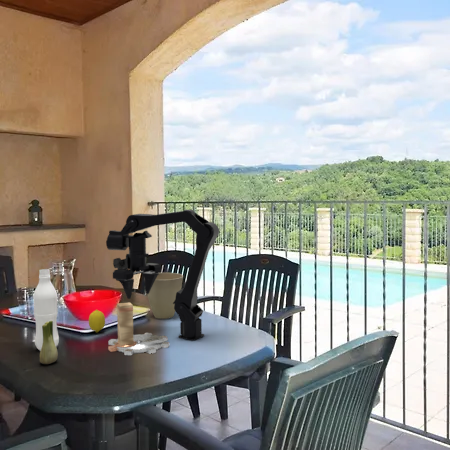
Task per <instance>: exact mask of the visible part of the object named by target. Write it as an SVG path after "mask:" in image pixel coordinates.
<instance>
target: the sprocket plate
mask: <svg viewBox="0 0 450 450" xmlns="http://www.w3.org/2000/svg"><path fill="white" fill-rule="evenodd" d="M133 343H134V344H133V345H125V346H120V344H119V343H118V338H110V339H109V340H108V346H107V347H108V348H107V349H108V351H109V352H111V353H113V352H120V353H124V356H132V355H134V354H145V353H144V352H146V353H147V354H149V355H152V354H156V353H157V350H160V349H163V348H165V349H167V348H169V347H170V341H168V336H166V335H160V336H159V335H155V334H153V333H152V332H145V333H144V334H133ZM151 353H152V354H151Z"/></svg>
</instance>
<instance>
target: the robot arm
mask: <svg viewBox="0 0 450 450" xmlns="http://www.w3.org/2000/svg"><path fill="white" fill-rule="evenodd" d="M179 223H185V224H186V225H187V226H188V227H189V228H190V229H191V230H192V231H193V232H194V233H196V235H195V246H196V247H195V250H194V254H193V258H192V261H191V264H190V267H189V270H188V273H187V277H186V282H185V284H184V288H181V290H180V291H178V292H177V293H176V298H175V301H174V302H173V304H175V305H174V310H175V313H176V314H177V315H178V317H179V321H180V323H179V325H180V326H179V327H180V334H179V335H178V338H179V339H185V340H189V341H196V340H198V339H200V338H203V337H205V334H204V333H203V332H202V326H203V325H202V318H200V317H202V315H203V312H204V310H203V309H202V307H200V305H199V304H197V303H198V287H199V284H200V282H201V278H202V274H203V271H204V269H205V264H206V262H207V259H208V256H209V253H210V250H211V248H212V246H213V245H214V243H216V240H217V238H218V236H219V233H220V229H219V226H218V225H217V224H216V223H214V222H211V221H209V220H207V219H206V218H205V217H203V216H201V215H199V214H198V213H197V212H195V211H194V209H184V210H181V211H174V212H166V213H158V214H151V213H135V214H134V213H133V214H130V215H129V216H127V218H126V220H125V224H124V226H123V227H122V229H121V230H116V229H115V230H113V229H111V230H109V231H108V232H109V233H108V235H107V238H106V242H105V243H106V248H107V250H109V251H126V250H127V249H128V253H126V255H125V258H124V259H121V258H120V257H116V258H113V259H112V262H113V263H112V264H113V268H114V270H113V272H112V279H113V280H115V281H117V282H119V283H120V284H121V286H122V288H123V291H124V294H125V296H126V298H127V299H128V300H129V299H131V297H132V293H133V288H134V282H135V279H134V276H135V275H139V274H141V275H142V276H143V279H144V278H145V280H144V290H145V294H146V295H147V294H149V292H150V290H151V288H152V285H153V283H154V281H155V279H156V278H157V276H158V275H159V273H162V266H161V264H160V263H153V262H148V263H147V258H148V257H149V253H147V239H149V238H152V237H153V235H152V234H151V233H150V232H149V231H148V230H147V229H150V228H152V227H155V226H162V225H170V224H171V225H172V224H179ZM139 231H143V232H139ZM130 234H131V235H130Z"/></svg>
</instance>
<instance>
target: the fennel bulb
mask: <svg viewBox="0 0 450 450" xmlns="http://www.w3.org/2000/svg"><path fill="white" fill-rule="evenodd" d="M42 330H43V344H42V348H41V351H40V350H39V362H40V363H41V364H42V365H49V364H50V365H51V364H53V363H55V362H56V361H57V360H58V357H59V356H58V352H59V351H58V349H57V347H56V346H55V343H54V339H53V321H49V322H46V323H45V325H43V326H42Z"/></svg>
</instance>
